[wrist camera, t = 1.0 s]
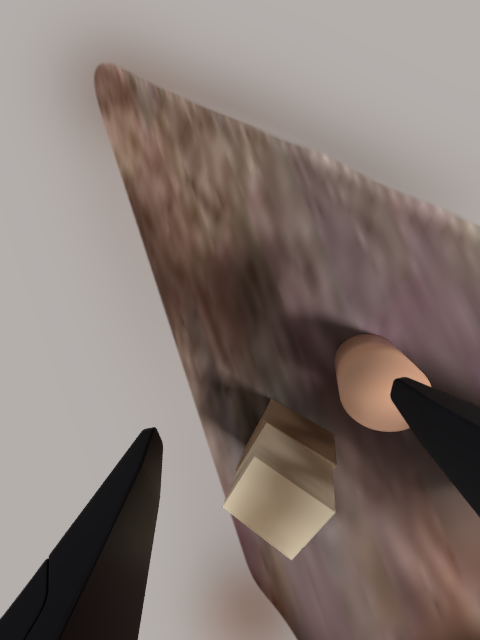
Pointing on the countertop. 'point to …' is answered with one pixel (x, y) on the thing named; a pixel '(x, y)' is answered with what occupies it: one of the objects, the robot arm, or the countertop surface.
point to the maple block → (282, 492)
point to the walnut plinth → (295, 432)
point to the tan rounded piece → (372, 380)
